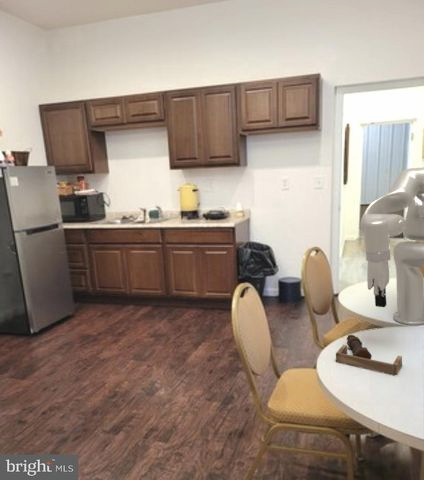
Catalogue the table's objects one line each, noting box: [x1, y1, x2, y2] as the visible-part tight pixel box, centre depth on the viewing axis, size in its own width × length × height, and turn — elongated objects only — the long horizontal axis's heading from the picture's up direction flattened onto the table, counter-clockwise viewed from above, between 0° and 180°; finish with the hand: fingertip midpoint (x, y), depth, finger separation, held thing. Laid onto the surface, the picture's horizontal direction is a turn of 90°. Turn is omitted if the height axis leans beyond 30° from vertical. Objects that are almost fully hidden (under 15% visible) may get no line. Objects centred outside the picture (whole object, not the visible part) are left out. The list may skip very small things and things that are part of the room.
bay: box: [335, 344, 403, 376], centre depth 121 cm, size 7×18×3 cm, turn 52°
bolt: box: [346, 334, 373, 360], centre depth 128 cm, size 6×5×15 cm
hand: (380, 305), depth 131 cm, fingers closed
